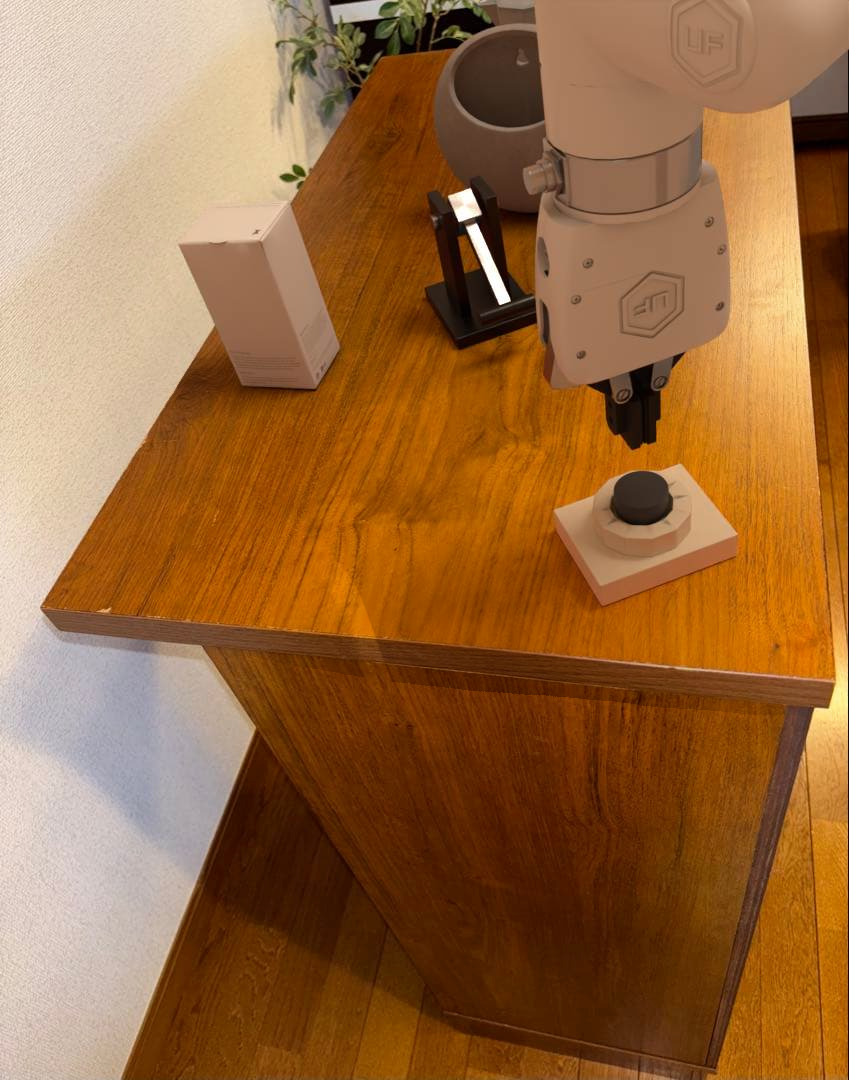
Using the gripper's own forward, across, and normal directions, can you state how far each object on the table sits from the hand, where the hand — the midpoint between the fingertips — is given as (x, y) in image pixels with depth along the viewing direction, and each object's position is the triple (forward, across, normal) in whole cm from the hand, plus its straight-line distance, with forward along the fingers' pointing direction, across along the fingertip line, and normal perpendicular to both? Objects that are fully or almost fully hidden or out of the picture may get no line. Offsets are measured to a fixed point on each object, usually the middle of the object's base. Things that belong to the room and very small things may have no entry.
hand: (633, 433), depth 62 cm
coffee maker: (+11, +21, +66) cm, 70 cm away
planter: (+11, +11, +48) cm, 50 cm away
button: (+6, 0, 0) cm, 7 cm away
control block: (+10, 0, 0) cm, 10 cm away
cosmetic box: (+11, -19, +35) cm, 41 cm away
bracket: (+10, 0, +34) cm, 35 cm away
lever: (+4, 0, +30) cm, 31 cm away
